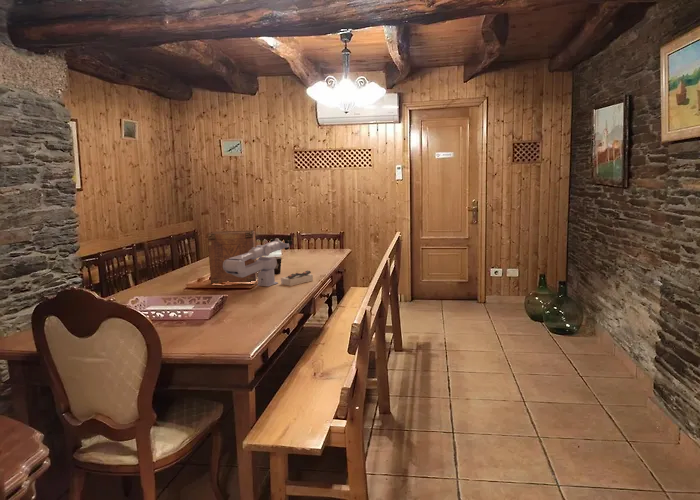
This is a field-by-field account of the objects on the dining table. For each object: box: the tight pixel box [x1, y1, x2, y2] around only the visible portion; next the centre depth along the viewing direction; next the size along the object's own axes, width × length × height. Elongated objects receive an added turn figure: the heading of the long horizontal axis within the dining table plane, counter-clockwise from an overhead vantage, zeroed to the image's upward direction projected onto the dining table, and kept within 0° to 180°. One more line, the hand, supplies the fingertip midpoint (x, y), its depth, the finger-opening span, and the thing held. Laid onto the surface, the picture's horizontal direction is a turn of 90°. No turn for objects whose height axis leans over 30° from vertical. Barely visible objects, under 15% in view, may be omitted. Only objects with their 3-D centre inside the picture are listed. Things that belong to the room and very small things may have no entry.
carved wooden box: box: [207, 229, 258, 284], centre depth 295 cm, size 25×9×30 cm, turn 92°
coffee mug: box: [271, 256, 282, 276], centre depth 322 cm, size 12×9×10 cm
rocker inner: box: [287, 273, 296, 279], centre depth 290 cm, size 4×3×1 cm
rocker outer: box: [301, 270, 311, 275], centre depth 298 cm, size 4×3×1 cm
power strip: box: [280, 273, 314, 287], centre depth 295 cm, size 17×8×4 cm, turn 137°
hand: (286, 242), depth 306 cm, fingers open, 7 cm apart
